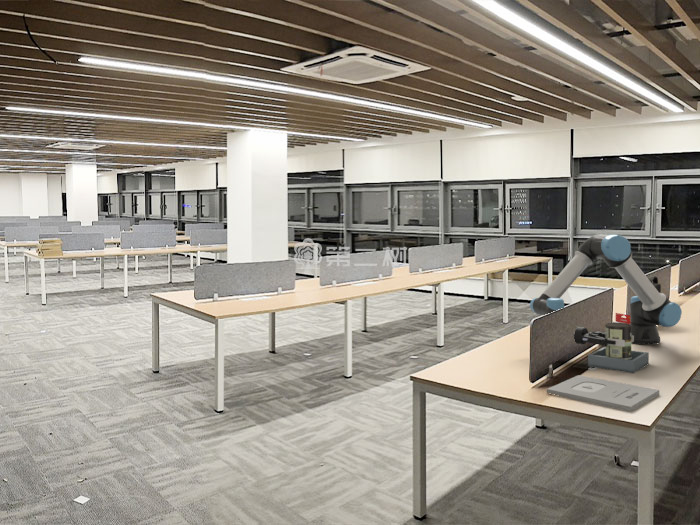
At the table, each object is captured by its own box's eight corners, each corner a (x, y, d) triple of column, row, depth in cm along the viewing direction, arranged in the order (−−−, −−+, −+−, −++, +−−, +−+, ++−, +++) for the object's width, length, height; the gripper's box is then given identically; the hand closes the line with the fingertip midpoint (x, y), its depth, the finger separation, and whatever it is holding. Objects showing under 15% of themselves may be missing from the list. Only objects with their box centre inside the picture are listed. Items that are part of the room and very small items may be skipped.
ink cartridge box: (629, 334, 309) (629, 316, 308) (612, 330, 319) (612, 313, 318) (632, 333, 310) (633, 315, 309) (615, 330, 320) (615, 312, 319)
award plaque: (630, 413, 192) (630, 406, 192) (546, 394, 214) (546, 388, 214) (659, 395, 209) (659, 389, 209) (578, 380, 231) (578, 375, 231)
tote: (604, 357, 262) (604, 346, 262) (648, 364, 249) (648, 352, 249) (588, 366, 249) (588, 354, 248) (633, 373, 236) (633, 361, 236)
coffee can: (628, 354, 253) (628, 322, 252) (634, 360, 243) (634, 327, 242) (602, 354, 255) (602, 322, 254) (608, 360, 245) (608, 326, 244)
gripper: (586, 338, 269) (638, 345, 254) (565, 347, 253) (619, 355, 237) (586, 322, 268) (638, 328, 253) (565, 330, 252) (619, 336, 237)
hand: (628, 341), depth 245 cm, fingers closed on coffee can, 10 cm apart
